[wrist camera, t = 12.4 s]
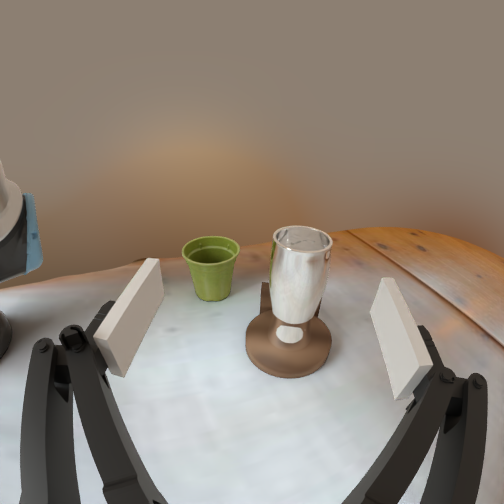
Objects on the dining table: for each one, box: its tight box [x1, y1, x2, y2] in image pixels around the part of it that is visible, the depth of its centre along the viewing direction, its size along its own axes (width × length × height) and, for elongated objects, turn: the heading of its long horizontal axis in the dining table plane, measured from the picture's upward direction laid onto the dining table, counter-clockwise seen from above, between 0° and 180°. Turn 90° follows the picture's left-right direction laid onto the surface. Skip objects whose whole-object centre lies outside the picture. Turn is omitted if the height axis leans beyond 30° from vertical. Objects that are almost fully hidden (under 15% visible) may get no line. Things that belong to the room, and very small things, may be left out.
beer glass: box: [267, 226, 333, 352], centre depth 34 cm, size 7×7×15 cm
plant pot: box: [182, 236, 240, 301], centre depth 47 cm, size 9×9×9 cm
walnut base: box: [246, 282, 332, 378], centre depth 37 cm, size 13×12×6 cm
